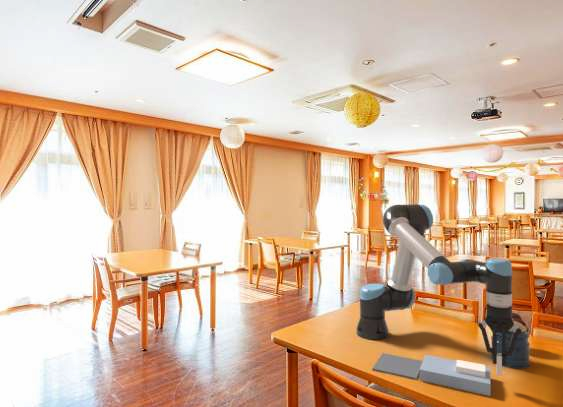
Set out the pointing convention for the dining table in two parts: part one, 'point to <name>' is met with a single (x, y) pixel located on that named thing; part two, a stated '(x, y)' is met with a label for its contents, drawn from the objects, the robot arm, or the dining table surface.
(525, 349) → the canister
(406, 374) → the mat
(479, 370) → the white rectangular block
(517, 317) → the ice cream bowl
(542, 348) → the dining table surface
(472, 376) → the block
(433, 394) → the dining table surface
